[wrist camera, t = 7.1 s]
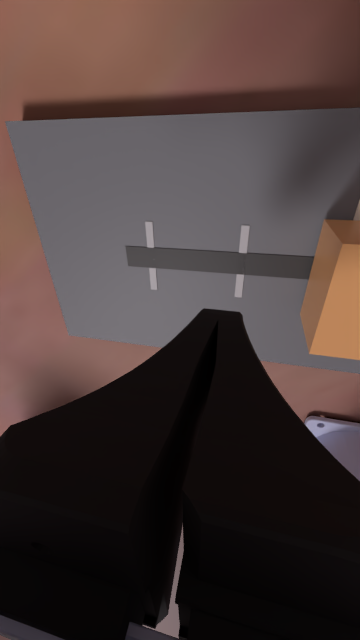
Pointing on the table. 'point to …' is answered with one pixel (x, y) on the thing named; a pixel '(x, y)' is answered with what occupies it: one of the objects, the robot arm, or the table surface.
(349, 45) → the table surface
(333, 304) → the fader knob
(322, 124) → the fader panel
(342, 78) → the table surface
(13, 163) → the table surface
